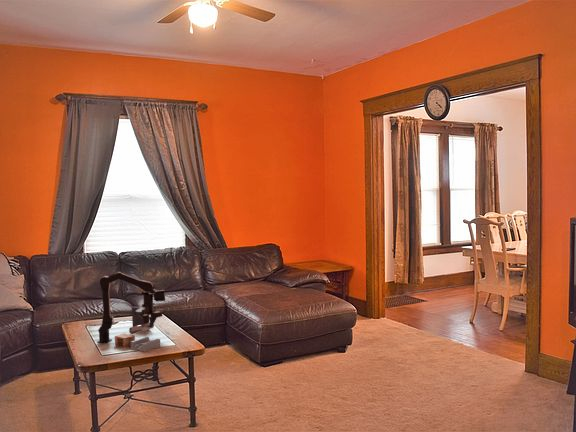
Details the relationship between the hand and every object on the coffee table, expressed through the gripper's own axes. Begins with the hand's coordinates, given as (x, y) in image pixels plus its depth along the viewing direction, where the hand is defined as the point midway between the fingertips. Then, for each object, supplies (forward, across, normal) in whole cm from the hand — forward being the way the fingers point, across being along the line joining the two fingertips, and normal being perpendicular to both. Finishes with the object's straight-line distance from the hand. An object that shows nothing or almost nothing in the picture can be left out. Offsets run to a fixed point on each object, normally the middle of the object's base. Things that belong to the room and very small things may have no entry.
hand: (148, 327), depth 330 cm
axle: (+1, 0, -6) cm, 6 cm away
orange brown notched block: (+7, 0, -19) cm, 20 cm away
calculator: (+7, -22, +13) cm, 26 cm away
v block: (+7, +14, -15) cm, 22 cm away
